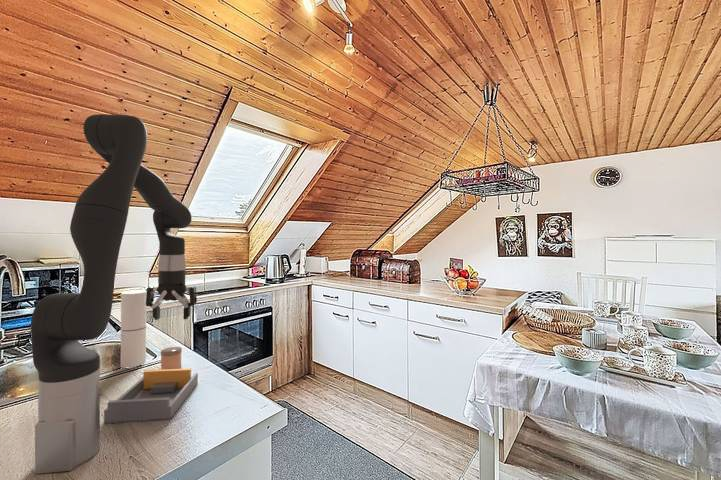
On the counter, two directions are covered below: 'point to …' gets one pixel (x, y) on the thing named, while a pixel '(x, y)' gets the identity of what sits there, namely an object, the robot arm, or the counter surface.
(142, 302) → the cylindrical container
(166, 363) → the jar
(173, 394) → the lane
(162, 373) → the pusher
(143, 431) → the counter surface
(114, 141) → the robot arm
